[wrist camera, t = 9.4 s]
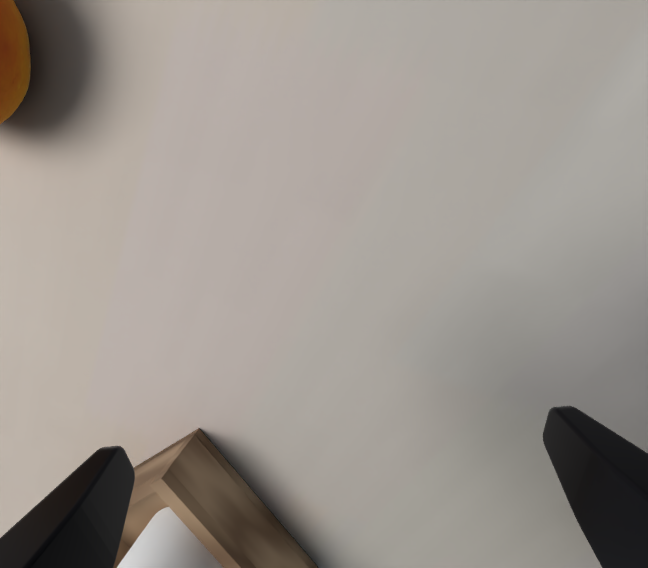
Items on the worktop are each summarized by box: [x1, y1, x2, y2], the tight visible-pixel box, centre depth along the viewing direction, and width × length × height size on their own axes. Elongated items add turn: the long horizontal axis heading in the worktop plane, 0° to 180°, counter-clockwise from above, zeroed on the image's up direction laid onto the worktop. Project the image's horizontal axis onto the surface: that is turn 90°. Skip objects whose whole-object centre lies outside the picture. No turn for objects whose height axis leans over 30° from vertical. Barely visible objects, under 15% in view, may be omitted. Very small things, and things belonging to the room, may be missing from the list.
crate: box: [113, 429, 318, 568], centre depth 26 cm, size 13×13×4 cm
